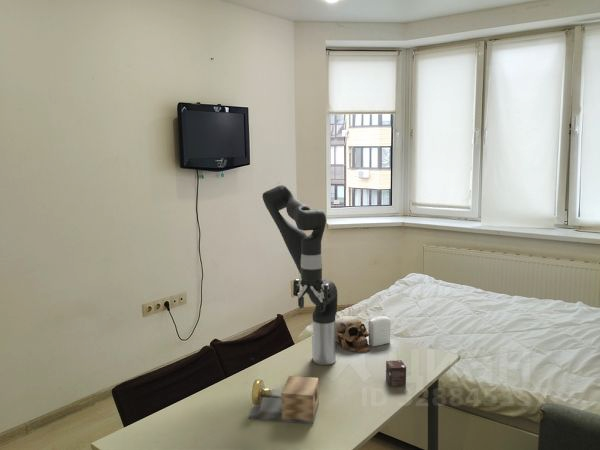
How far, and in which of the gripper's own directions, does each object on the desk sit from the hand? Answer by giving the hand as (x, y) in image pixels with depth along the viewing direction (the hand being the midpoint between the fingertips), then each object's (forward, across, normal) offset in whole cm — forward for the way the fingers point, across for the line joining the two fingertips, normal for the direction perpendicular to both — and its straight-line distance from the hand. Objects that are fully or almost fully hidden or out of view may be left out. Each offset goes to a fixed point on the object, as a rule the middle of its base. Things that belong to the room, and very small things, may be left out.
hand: (311, 309), depth 173 cm
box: (+28, +27, +15) cm, 42 cm away
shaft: (+26, +1, -23) cm, 34 cm away
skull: (+29, -3, +39) cm, 49 cm away
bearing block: (+28, +2, -22) cm, 36 cm away
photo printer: (+29, +7, +46) cm, 55 cm away
